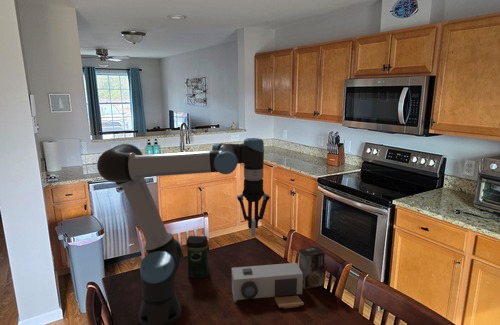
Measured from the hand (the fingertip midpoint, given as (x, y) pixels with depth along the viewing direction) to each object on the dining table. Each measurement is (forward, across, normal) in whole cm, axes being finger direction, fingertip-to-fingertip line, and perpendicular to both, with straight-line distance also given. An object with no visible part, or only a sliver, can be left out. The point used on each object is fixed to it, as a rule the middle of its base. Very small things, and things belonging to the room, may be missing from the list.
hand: (252, 235), depth 133 cm
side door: (+24, +13, -6) cm, 28 cm away
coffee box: (+26, +26, +2) cm, 36 cm away
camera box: (+26, +6, -1) cm, 26 cm away
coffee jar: (+26, -22, +17) cm, 38 cm away
